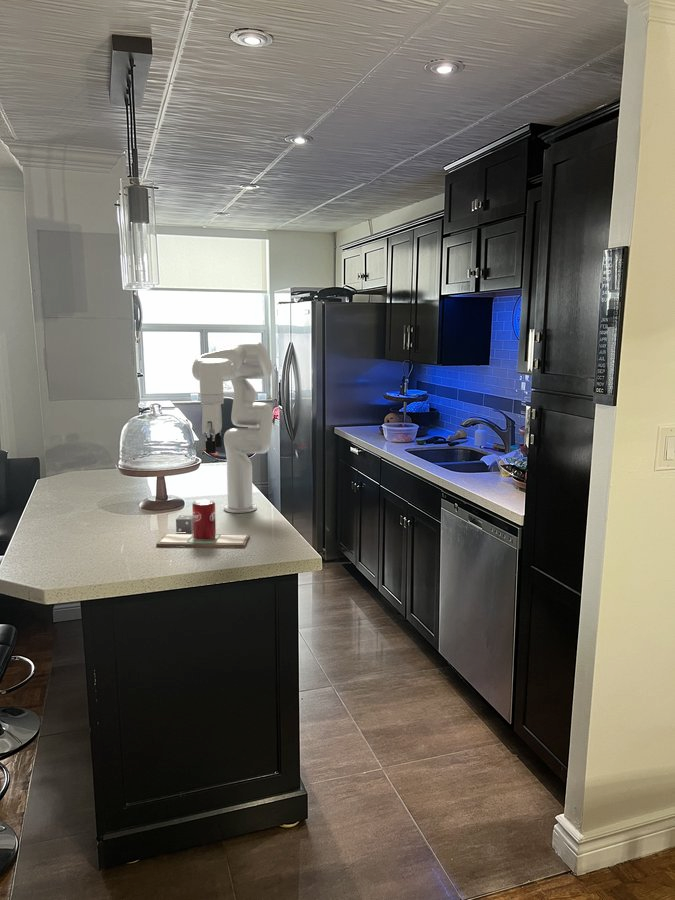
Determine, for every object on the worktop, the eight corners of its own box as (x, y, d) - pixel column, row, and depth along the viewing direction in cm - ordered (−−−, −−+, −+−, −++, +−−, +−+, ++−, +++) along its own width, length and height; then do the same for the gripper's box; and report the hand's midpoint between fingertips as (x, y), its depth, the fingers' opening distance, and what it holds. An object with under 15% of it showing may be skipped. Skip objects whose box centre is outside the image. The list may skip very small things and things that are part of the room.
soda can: (194, 542, 213) (193, 505, 211) (192, 535, 220) (191, 500, 218) (217, 540, 215) (216, 504, 213) (214, 534, 222) (213, 499, 220)
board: (165, 536, 223) (165, 533, 223) (249, 537, 222) (249, 534, 222) (156, 546, 212) (156, 543, 212) (244, 547, 212) (244, 544, 211)
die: (180, 529, 232) (179, 515, 231) (194, 529, 232) (194, 515, 231) (176, 533, 227) (175, 519, 226) (191, 533, 227) (190, 519, 226)
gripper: (206, 395, 228) (208, 444, 232) (194, 402, 211) (196, 455, 215) (228, 395, 228) (229, 444, 232) (218, 402, 211) (220, 455, 215)
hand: (214, 449), depth 223 cm, fingers open, 9 cm apart
